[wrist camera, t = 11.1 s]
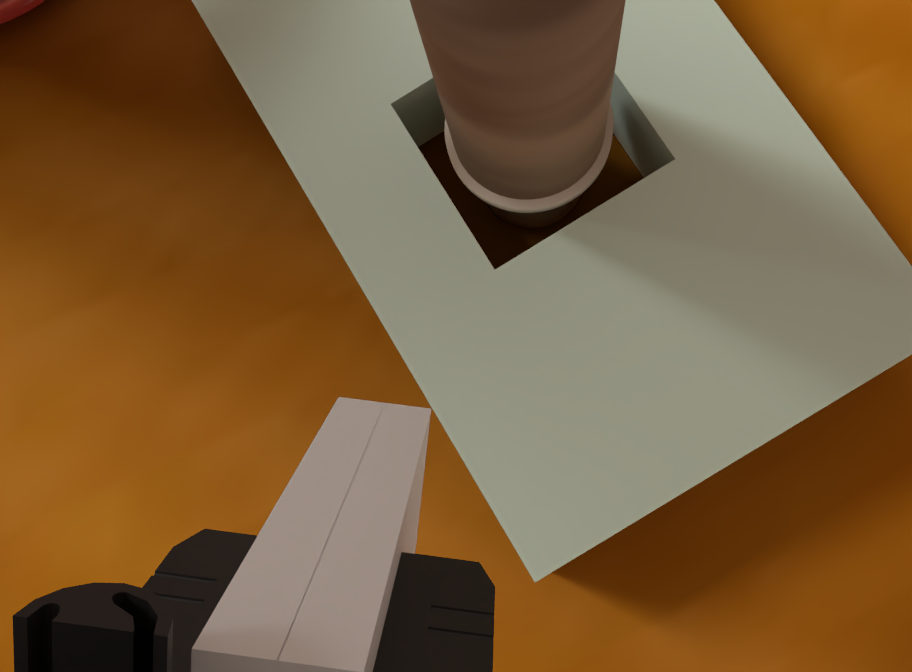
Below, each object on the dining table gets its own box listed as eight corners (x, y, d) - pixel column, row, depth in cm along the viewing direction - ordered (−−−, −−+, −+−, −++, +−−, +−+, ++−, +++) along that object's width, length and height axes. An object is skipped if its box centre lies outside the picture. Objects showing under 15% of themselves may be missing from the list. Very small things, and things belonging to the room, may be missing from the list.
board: (218, 27, 28) (171, -34, 25) (528, -166, 28) (524, -255, 25) (537, 566, 24) (535, 582, 21) (899, 347, 24) (957, 327, 21)
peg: (434, 158, 27) (325, -130, 14) (554, 83, 27) (556, -275, 14) (508, 274, 26) (464, 81, 13) (632, 198, 26) (710, -72, 13)
